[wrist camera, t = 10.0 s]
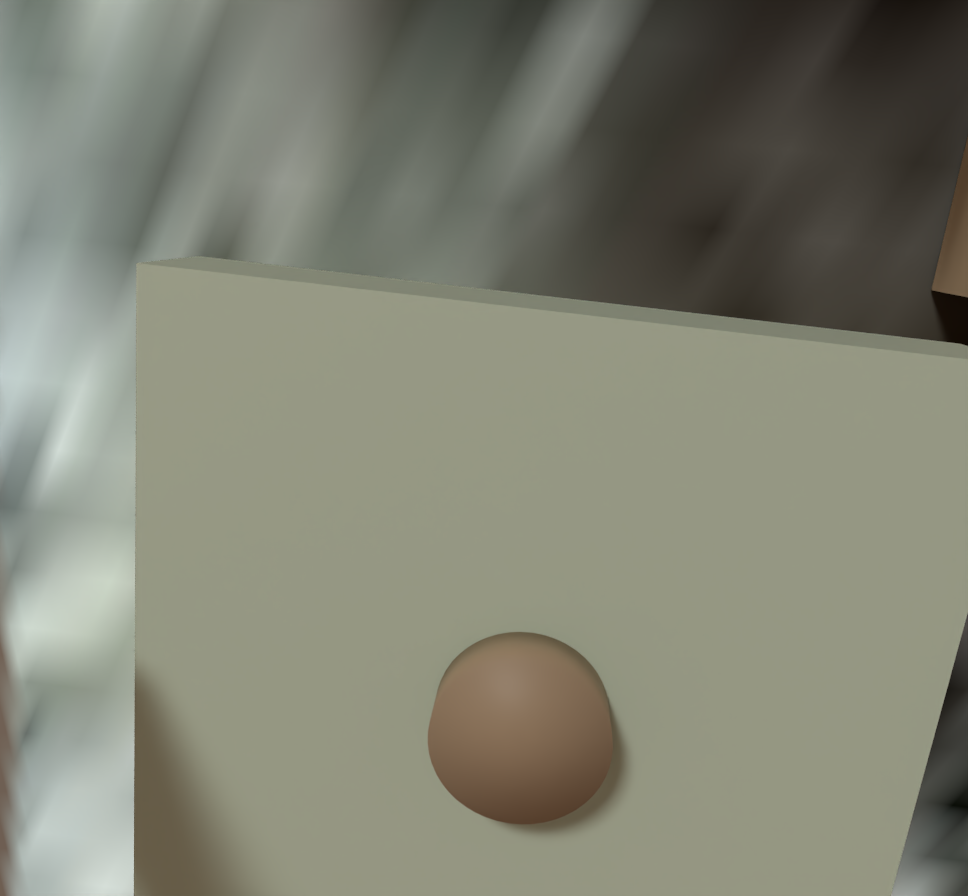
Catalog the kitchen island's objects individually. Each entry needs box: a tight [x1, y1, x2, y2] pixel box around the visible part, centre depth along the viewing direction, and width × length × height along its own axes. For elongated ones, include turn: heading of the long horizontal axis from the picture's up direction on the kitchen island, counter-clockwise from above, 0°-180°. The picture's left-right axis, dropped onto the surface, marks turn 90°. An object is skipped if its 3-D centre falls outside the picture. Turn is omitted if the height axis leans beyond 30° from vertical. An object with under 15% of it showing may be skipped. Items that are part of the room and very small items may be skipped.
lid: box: [134, 256, 968, 896], centre depth 13 cm, size 11×11×3 cm
